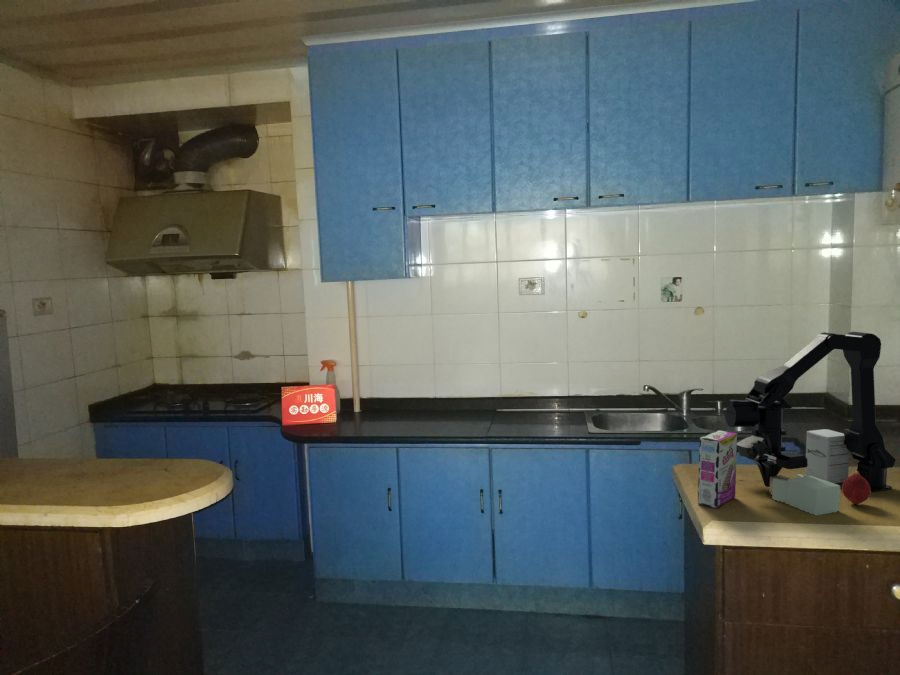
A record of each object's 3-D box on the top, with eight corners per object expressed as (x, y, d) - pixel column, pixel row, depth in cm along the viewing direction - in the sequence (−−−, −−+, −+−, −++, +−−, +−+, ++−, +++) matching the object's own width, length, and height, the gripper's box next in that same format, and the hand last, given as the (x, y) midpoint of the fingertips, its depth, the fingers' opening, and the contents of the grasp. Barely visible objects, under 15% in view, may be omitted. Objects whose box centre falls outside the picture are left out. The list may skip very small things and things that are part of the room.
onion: (874, 509, 149) (876, 475, 148) (847, 508, 150) (848, 474, 149) (864, 501, 154) (865, 468, 154) (837, 499, 156) (838, 467, 155)
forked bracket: (799, 494, 159) (799, 470, 159) (841, 510, 148) (842, 485, 148) (771, 499, 157) (771, 474, 156) (812, 515, 145) (813, 489, 145)
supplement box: (803, 476, 174) (805, 430, 173) (826, 473, 176) (827, 428, 175) (826, 484, 167) (828, 436, 166) (849, 481, 169) (851, 434, 168)
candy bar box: (717, 509, 151) (719, 440, 149) (696, 504, 154) (698, 437, 153) (737, 497, 158) (738, 432, 157) (716, 493, 162) (717, 429, 160)
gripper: (717, 421, 168) (715, 479, 170) (773, 437, 150) (771, 502, 152) (751, 417, 172) (749, 474, 173) (810, 433, 154) (808, 496, 155)
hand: (767, 486), depth 163 cm, fingers closed
